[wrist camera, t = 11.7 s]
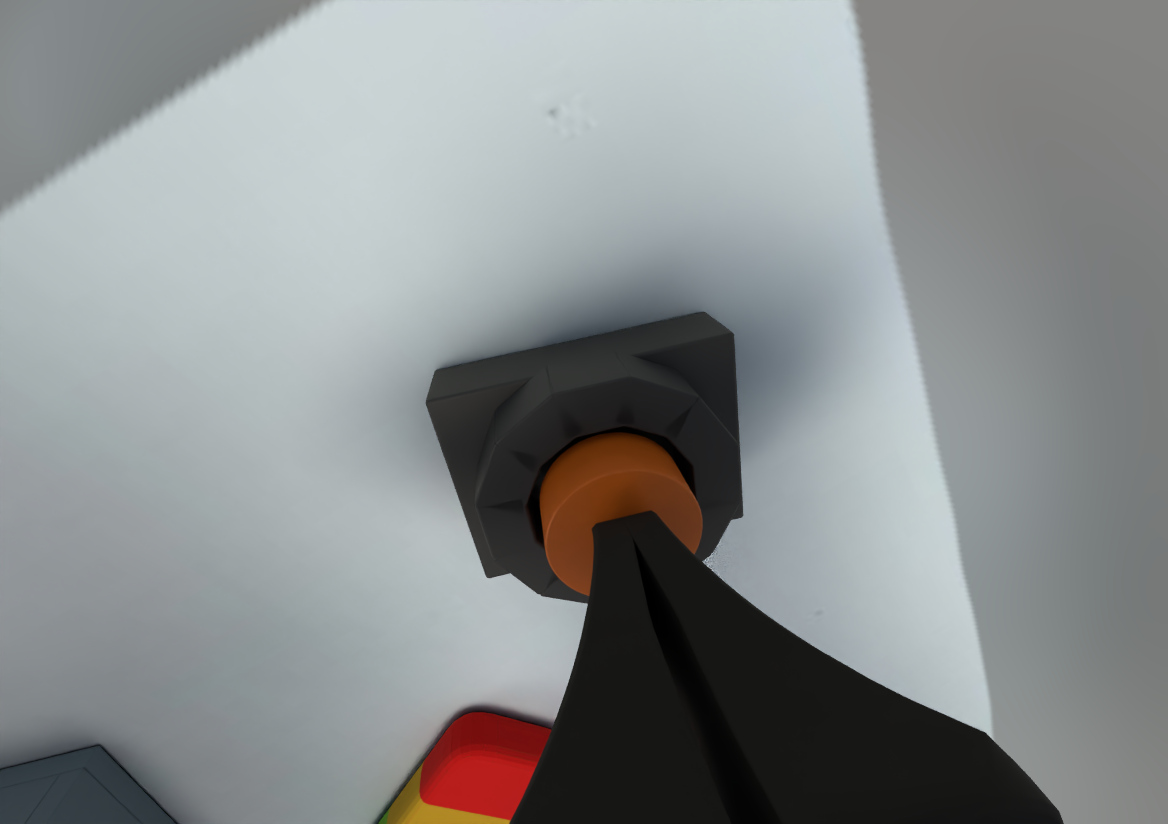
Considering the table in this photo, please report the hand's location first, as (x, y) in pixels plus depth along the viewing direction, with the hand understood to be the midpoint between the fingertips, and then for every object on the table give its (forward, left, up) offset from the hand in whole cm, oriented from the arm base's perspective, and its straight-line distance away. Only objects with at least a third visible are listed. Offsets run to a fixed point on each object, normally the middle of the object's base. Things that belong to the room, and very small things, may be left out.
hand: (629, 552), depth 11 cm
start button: (0, 0, -2) cm, 2 cm away
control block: (0, 0, -6) cm, 6 cm away
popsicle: (+10, +18, -6) cm, 21 cm away
